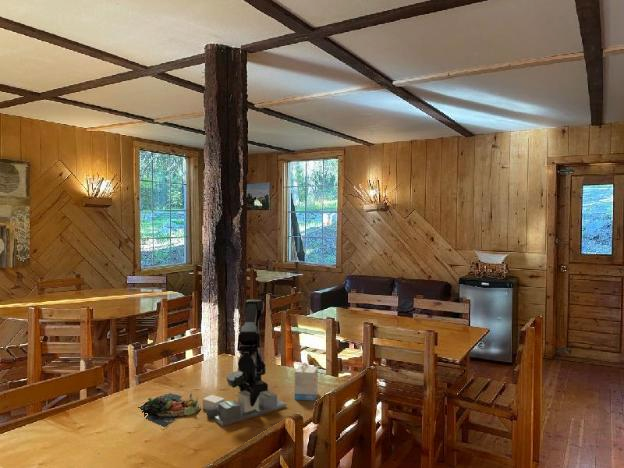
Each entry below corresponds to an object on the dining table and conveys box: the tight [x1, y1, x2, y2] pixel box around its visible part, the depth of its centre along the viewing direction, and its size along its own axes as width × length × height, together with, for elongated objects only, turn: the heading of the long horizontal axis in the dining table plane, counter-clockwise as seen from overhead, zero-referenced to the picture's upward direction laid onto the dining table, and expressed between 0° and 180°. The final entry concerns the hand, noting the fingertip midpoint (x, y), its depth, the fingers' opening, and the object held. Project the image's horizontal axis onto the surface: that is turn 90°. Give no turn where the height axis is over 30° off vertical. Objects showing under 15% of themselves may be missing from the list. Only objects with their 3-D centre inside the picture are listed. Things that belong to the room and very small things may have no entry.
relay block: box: [202, 394, 226, 411], centre depth 178 cm, size 7×5×4 cm
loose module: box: [237, 390, 259, 412], centre depth 172 cm, size 5×6×6 cm
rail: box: [214, 389, 287, 427], centre depth 173 cm, size 6×28×6 cm, turn 128°
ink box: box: [294, 361, 319, 402], centre depth 191 cm, size 9×8×13 cm
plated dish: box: [138, 392, 202, 429], centre depth 177 cm, size 35×28×7 cm
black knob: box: [206, 406, 218, 420], centre depth 171 cm, size 4×4×3 cm
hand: (248, 403), depth 172 cm, fingers open, 5 cm apart
